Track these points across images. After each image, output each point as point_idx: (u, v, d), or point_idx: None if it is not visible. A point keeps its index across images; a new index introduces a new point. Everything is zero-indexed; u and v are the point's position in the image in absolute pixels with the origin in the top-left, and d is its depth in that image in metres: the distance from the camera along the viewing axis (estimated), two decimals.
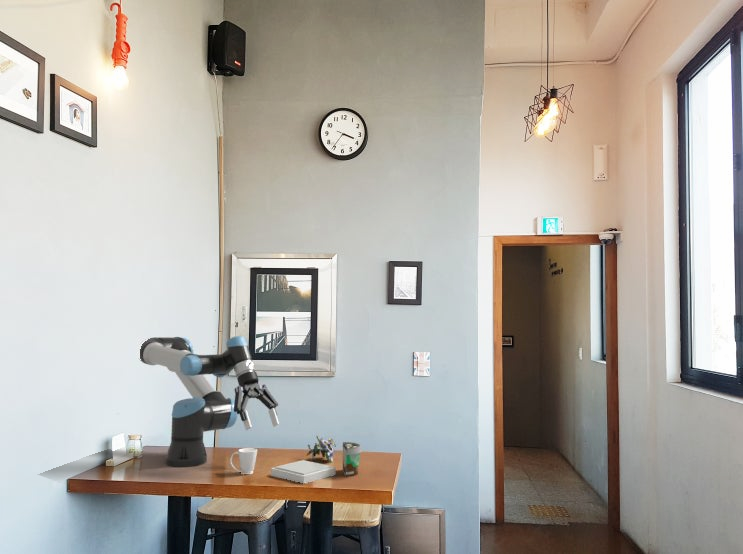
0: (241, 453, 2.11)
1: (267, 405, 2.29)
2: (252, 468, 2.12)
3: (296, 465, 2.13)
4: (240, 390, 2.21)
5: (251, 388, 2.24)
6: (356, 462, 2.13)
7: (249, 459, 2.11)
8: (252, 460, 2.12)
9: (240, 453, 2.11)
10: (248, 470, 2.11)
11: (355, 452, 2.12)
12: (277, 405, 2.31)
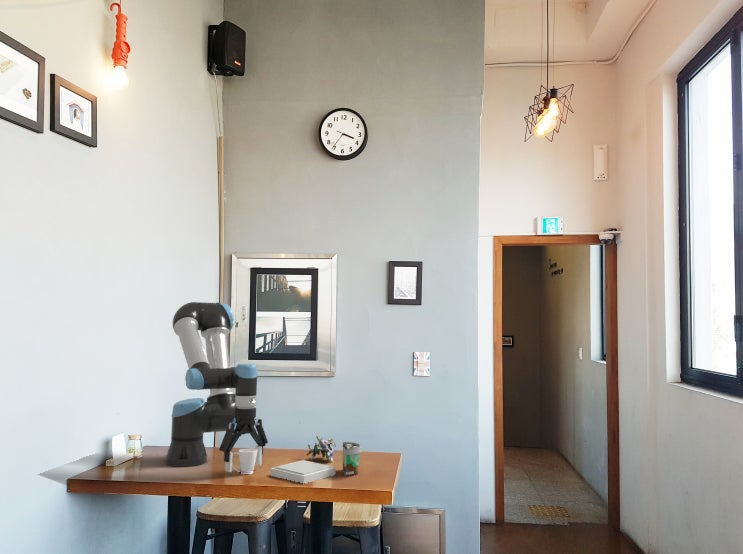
0: (241, 453, 2.11)
1: (256, 441, 2.19)
2: (252, 468, 2.12)
3: (296, 465, 2.13)
4: (232, 429, 2.09)
5: (245, 427, 2.12)
6: (356, 462, 2.13)
7: (249, 459, 2.11)
8: (252, 460, 2.12)
9: (240, 453, 2.11)
10: (248, 470, 2.11)
11: (355, 452, 2.12)
12: (266, 443, 2.21)
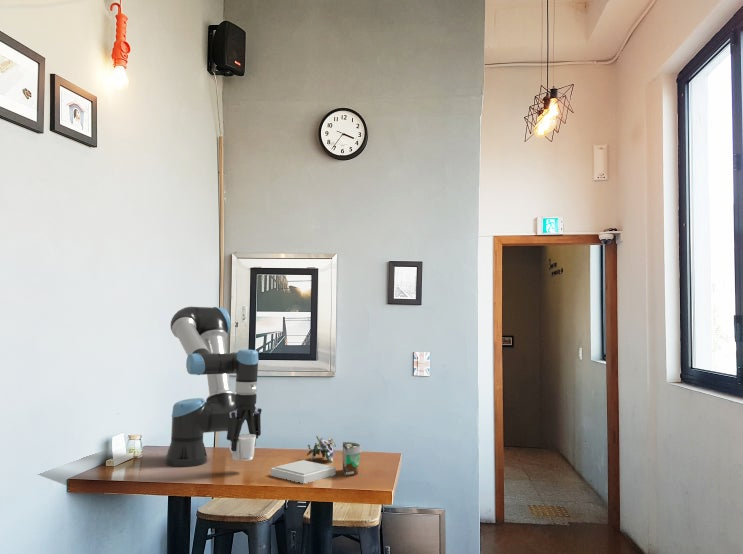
0: (240, 440, 2.11)
1: (250, 431, 2.18)
2: (251, 454, 2.13)
3: (296, 465, 2.13)
4: (234, 418, 2.10)
5: (245, 413, 2.13)
6: (356, 462, 2.13)
7: (248, 445, 2.11)
8: (251, 446, 2.12)
9: (239, 440, 2.11)
10: (247, 456, 2.12)
11: (355, 452, 2.12)
12: (258, 435, 2.19)
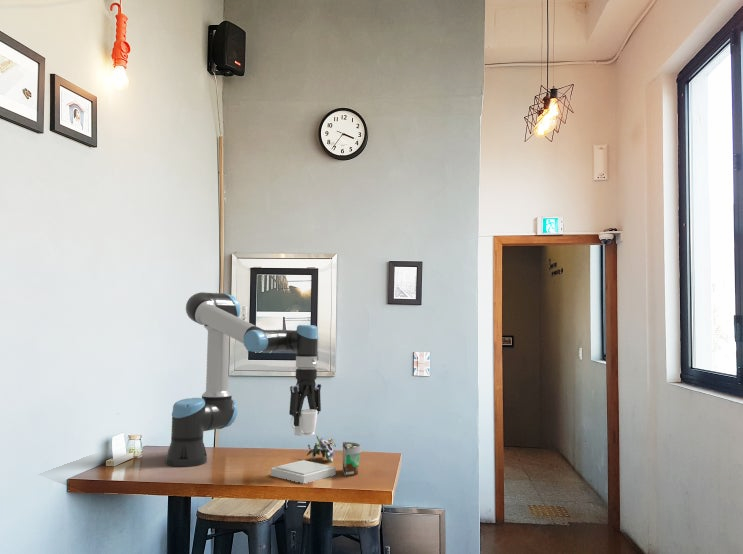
0: (302, 414, 2.10)
1: (310, 407, 2.16)
2: (314, 429, 2.11)
3: (296, 465, 2.13)
4: (296, 392, 2.09)
5: (307, 387, 2.12)
6: (356, 462, 2.13)
7: (310, 420, 2.10)
8: (313, 421, 2.11)
9: (301, 415, 2.10)
10: (310, 431, 2.10)
11: (355, 452, 2.12)
12: (319, 411, 2.17)
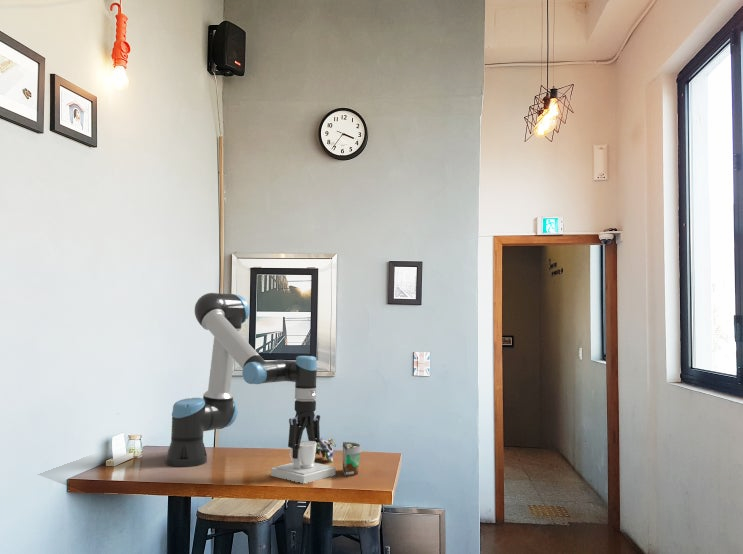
0: (301, 447, 2.09)
1: (309, 438, 2.15)
2: (312, 461, 2.11)
3: None
4: (295, 424, 2.08)
5: (305, 419, 2.11)
6: (356, 462, 2.13)
7: (309, 452, 2.09)
8: (312, 453, 2.10)
9: (300, 447, 2.09)
10: (309, 463, 2.10)
11: (355, 452, 2.12)
12: (318, 442, 2.17)
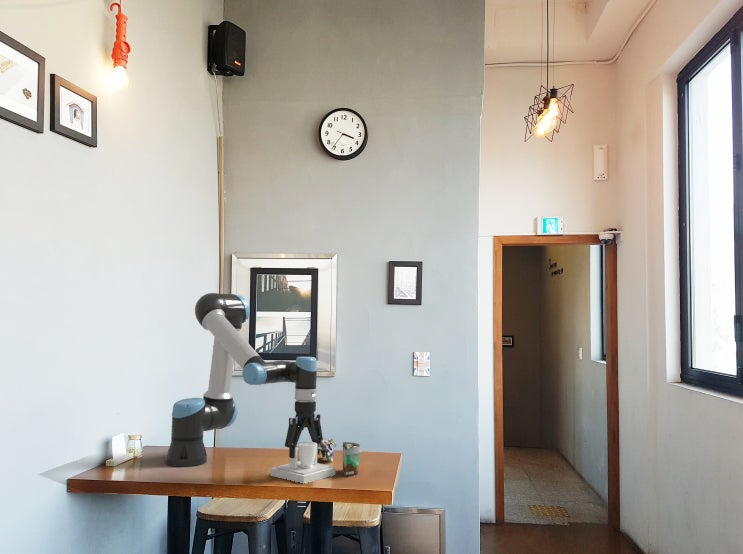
0: (301, 446, 2.09)
1: (312, 437, 2.17)
2: (312, 462, 2.10)
3: None
4: (295, 424, 2.08)
5: (305, 420, 2.11)
6: (356, 462, 2.13)
7: (309, 452, 2.09)
8: (312, 454, 2.10)
9: (300, 446, 2.10)
10: (308, 464, 2.09)
11: (355, 452, 2.12)
12: (321, 440, 2.18)
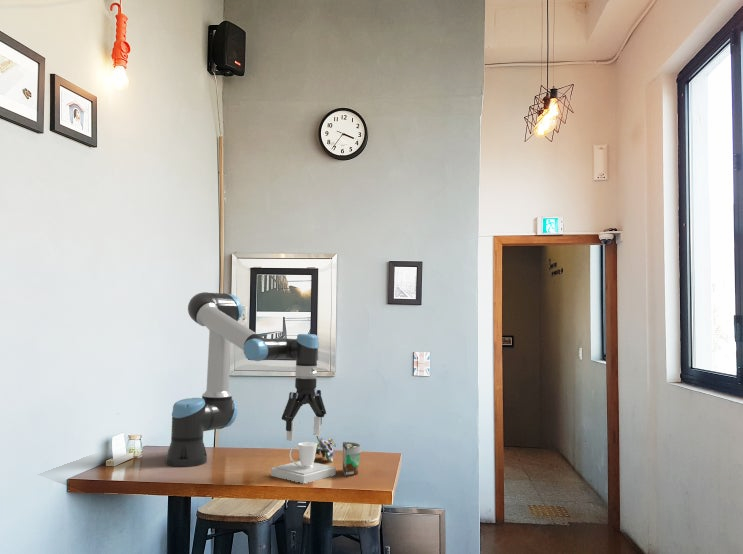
0: (301, 447, 2.09)
1: (315, 412, 2.18)
2: (312, 462, 2.10)
3: (296, 465, 2.13)
4: (294, 398, 2.08)
5: (306, 397, 2.12)
6: (356, 462, 2.13)
7: (309, 453, 2.09)
8: (312, 454, 2.10)
9: (300, 447, 2.09)
10: (308, 464, 2.09)
11: (355, 452, 2.12)
12: (324, 414, 2.20)
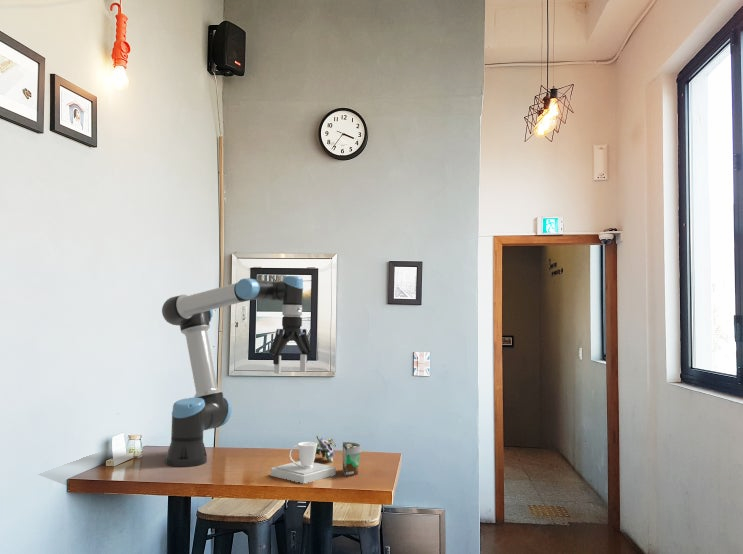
0: (301, 447, 2.09)
1: (301, 349, 2.33)
2: (312, 462, 2.10)
3: (296, 465, 2.13)
4: (281, 334, 2.23)
5: (292, 333, 2.26)
6: (356, 462, 2.13)
7: (309, 453, 2.09)
8: (312, 454, 2.10)
9: (300, 447, 2.09)
10: (308, 464, 2.09)
11: (355, 452, 2.12)
12: (310, 352, 2.35)
